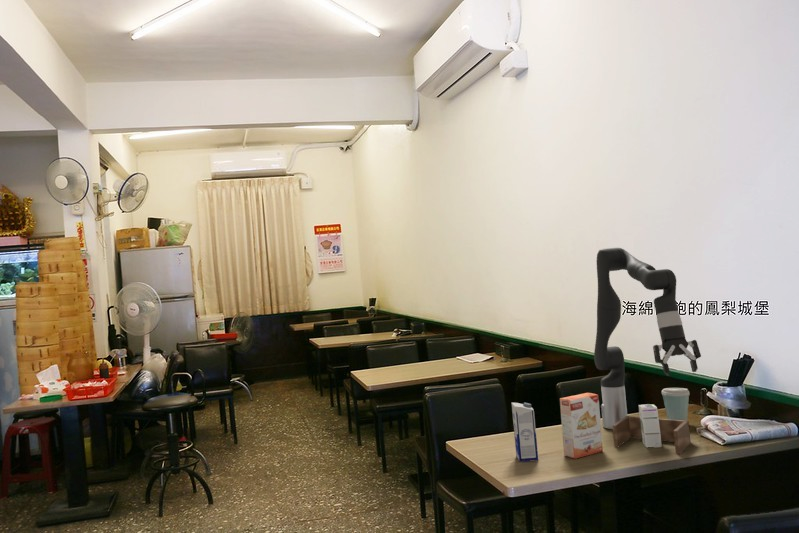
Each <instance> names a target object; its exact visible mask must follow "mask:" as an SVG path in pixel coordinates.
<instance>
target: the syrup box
mask: <svg viewBox="0 0 799 533" xmlns="http://www.w3.org/2000/svg"><path fill="white" fill-rule="evenodd" d="M638 413H639V417H640V423H641V432H642V439H641V440H642V444H643V446H644V447H645V448H648V447H654V448H663V447H662V444H663V443H662V441H661V435H660V426H659V419H660V418H659V412H658V407H657V406H656V405H655V404H650V403H647V404H638Z"/></svg>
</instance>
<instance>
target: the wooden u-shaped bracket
mask: <svg viewBox="0 0 799 533" xmlns="http://www.w3.org/2000/svg"><path fill="white" fill-rule="evenodd" d="M659 426H660V435H661V442H671V443H674V448H675V451H674V452H675V455H680V454H682V452H684V451H685V449H686V448H687V447H688V446H689V445H690V444H691V432H690V422H689V420H687V421H684V420H671V419H668V418H659ZM612 433H613V443H614V448H619V447H621V444H622V443H623V442H624V443H626V442H627V441H628V440H630V439H639V438H642V432H641V423H640V416H632V415H631V416H629V415H627V416H626V417H624V418H623V419H621V420H620V421H618V422H617V423H615V424H614V425H613V429H612ZM630 437H632V438H630ZM629 438H630V439H629ZM626 440H627V441H626ZM625 441H626V442H625ZM624 443H623V444H624ZM623 444H622V445H623ZM618 446H619V447H618Z"/></svg>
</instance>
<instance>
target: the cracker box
mask: <svg viewBox="0 0 799 533" xmlns="http://www.w3.org/2000/svg"><path fill="white" fill-rule="evenodd" d="M559 406H560V420H561V431H562V444H563V455H564V456H565V457H569V458H572V459H575V460H576V459H579V458H582V457H586V455H587V456H590V455H593V454H594V455H595V454H597V452H598V453H601V451H602V452H603V451H604V448H603V438H602V437H603V435H602V422H601V413H600V412H601V411H600V410H601V409H600V399H599V394H596V393H592V392H584V393H579V394H576V395H570V396H566V397H560V398H559Z"/></svg>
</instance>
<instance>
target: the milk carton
mask: <svg viewBox="0 0 799 533" xmlns="http://www.w3.org/2000/svg"><path fill="white" fill-rule="evenodd" d="M511 412H512V422H513V423H512V424H513V432H514V433H513V435H514V443H515V444H514V446H515V454H516V458H517V460H518V459H519V460H518V461H524V462H531V461H530V460H537V461H539V452H538V441H537V432H536V419H535V418H536V417H535V411H534V408H533V407H532V403H528V402H523V403H519V402H511Z"/></svg>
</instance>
